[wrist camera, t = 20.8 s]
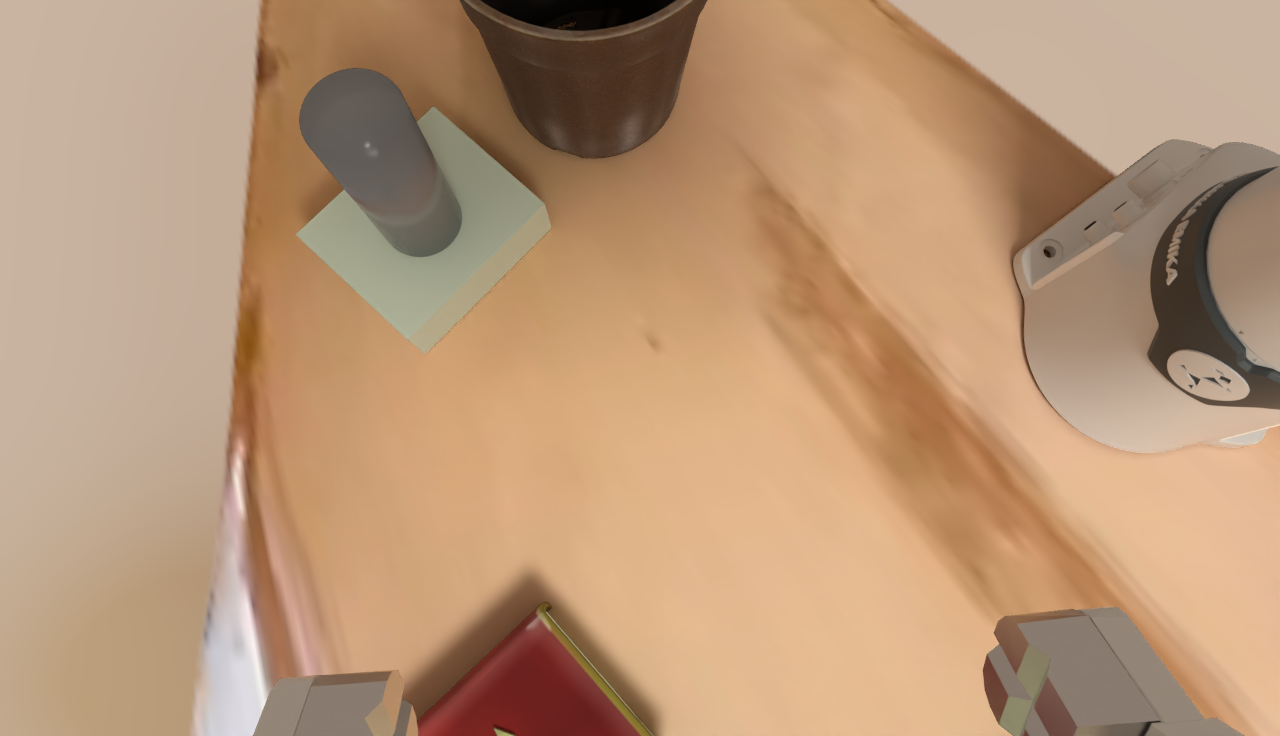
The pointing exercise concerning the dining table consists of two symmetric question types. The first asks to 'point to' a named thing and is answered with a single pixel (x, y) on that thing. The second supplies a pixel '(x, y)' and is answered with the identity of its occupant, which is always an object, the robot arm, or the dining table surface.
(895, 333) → the dining table surface
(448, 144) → the block
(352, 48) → the dining table surface
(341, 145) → the slate jar
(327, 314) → the dining table surface
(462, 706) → the hardcover book
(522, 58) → the plant pot
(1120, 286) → the robot arm
